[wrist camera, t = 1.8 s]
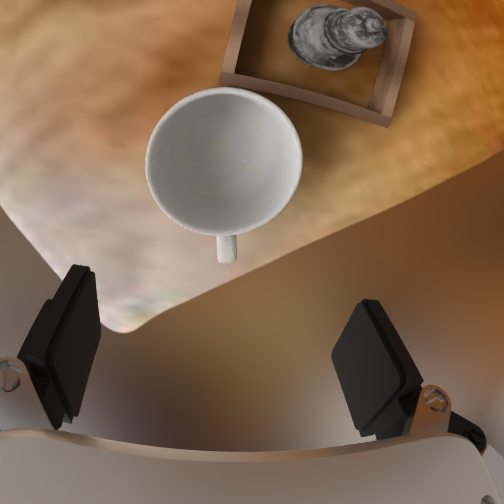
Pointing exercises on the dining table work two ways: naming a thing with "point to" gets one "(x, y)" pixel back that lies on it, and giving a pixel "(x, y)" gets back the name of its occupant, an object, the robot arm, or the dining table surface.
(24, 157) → the dining table surface
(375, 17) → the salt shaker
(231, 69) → the walnut corral
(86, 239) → the dining table surface
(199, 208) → the teacup
